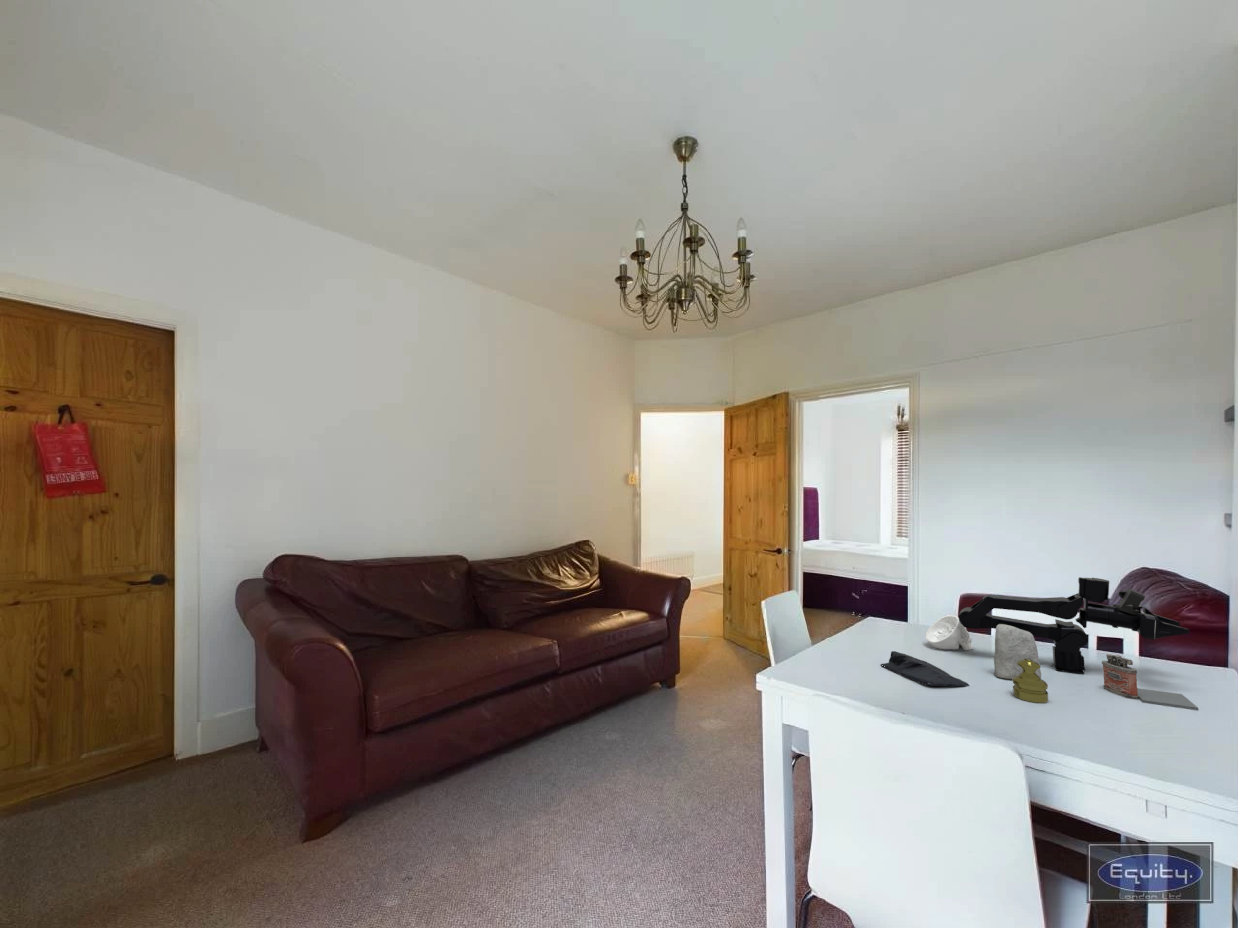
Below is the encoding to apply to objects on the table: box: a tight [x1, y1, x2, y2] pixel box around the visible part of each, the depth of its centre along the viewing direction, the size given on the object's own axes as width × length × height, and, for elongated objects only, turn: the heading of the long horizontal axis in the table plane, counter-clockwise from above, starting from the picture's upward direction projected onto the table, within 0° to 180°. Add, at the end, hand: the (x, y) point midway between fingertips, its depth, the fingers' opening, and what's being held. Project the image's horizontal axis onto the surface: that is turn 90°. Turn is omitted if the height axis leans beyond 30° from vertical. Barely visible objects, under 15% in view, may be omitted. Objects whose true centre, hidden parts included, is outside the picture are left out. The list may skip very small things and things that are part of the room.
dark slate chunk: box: [880, 650, 970, 688], centre depth 154 cm, size 15×22×5 cm
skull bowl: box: [925, 614, 974, 651], centre depth 180 cm, size 10×14×12 cm
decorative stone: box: [993, 624, 1042, 680], centre depth 151 cm, size 11×6×15 cm, turn 65°
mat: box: [1137, 687, 1199, 711], centre depth 134 cm, size 10×10×1 cm
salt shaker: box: [1011, 659, 1049, 704], centre depth 137 cm, size 7×7×10 cm
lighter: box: [1101, 653, 1140, 701], centre depth 138 cm, size 8×3×10 cm, turn 5°
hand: (1184, 627), depth 143 cm, fingers open, 9 cm apart
